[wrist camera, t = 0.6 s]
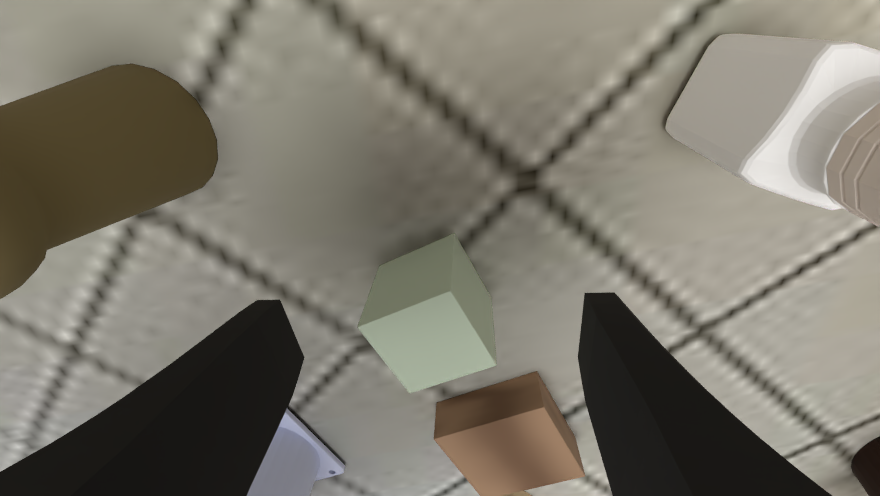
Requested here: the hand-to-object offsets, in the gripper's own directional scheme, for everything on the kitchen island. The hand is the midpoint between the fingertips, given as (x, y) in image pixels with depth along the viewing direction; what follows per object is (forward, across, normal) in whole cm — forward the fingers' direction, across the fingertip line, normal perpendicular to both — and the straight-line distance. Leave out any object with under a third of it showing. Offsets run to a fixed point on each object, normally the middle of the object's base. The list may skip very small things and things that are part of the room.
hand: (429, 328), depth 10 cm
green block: (+10, +2, +7) cm, 12 cm away
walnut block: (+10, -2, +18) cm, 21 cm away
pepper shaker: (+10, +14, -2) cm, 18 cm away
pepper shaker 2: (+11, -11, -2) cm, 16 cm away
